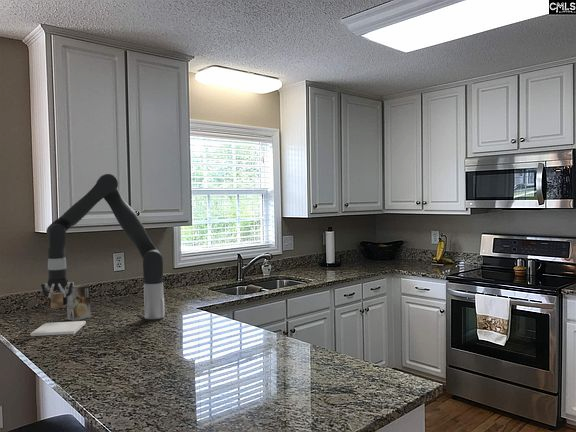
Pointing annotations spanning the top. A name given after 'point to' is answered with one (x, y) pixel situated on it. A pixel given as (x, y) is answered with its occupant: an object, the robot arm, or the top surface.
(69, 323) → the cutting board
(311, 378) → the top surface
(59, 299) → the brown short block
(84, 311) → the coffee box
